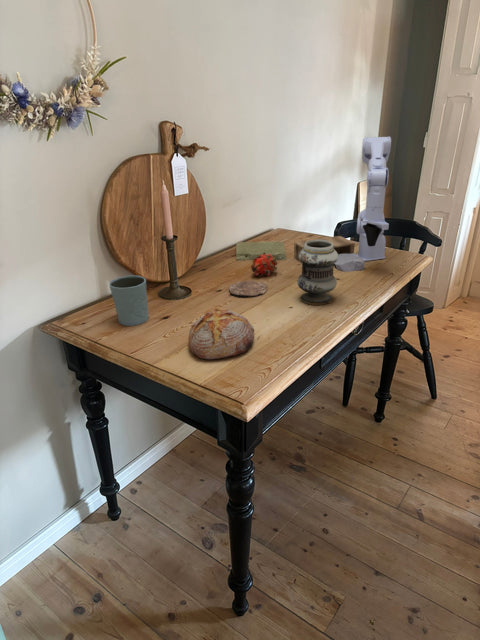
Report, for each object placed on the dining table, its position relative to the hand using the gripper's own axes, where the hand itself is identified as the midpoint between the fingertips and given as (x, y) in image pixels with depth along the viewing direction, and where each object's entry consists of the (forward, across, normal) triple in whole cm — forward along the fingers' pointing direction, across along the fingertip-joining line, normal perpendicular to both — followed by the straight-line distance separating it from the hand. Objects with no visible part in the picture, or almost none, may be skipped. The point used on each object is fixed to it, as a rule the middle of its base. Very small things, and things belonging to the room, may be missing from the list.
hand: (371, 245), depth 163 cm
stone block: (+10, -10, -3) cm, 15 cm away
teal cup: (+10, +7, -84) cm, 85 cm away
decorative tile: (+11, -37, -27) cm, 47 cm away
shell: (+11, -1, -46) cm, 47 cm away
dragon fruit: (+10, -13, -35) cm, 39 cm away
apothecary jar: (+10, +14, -28) cm, 33 cm away
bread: (+10, +31, -64) cm, 72 cm away
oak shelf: (+10, -21, -7) cm, 24 cm away
